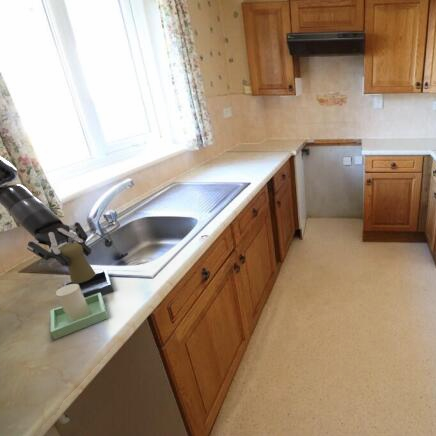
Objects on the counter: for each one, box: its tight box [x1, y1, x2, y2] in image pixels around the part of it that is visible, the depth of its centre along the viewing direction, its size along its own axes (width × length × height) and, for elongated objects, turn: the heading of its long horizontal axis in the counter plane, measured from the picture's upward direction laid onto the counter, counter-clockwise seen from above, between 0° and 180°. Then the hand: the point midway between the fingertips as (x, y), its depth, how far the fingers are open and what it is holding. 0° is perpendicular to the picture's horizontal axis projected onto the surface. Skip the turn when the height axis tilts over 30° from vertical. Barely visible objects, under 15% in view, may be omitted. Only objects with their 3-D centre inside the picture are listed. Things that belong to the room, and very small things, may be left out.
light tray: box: [49, 293, 109, 340], centre depth 87 cm, size 12×11×2 cm
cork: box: [59, 243, 96, 283], centre depth 94 cm, size 6×6×11 cm
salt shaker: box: [55, 284, 91, 322], centre depth 85 cm, size 5×5×9 cm
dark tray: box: [62, 269, 115, 298], centre depth 98 cm, size 12×11×2 cm
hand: (79, 259), depth 93 cm, fingers closed on cork, 5 cm apart
